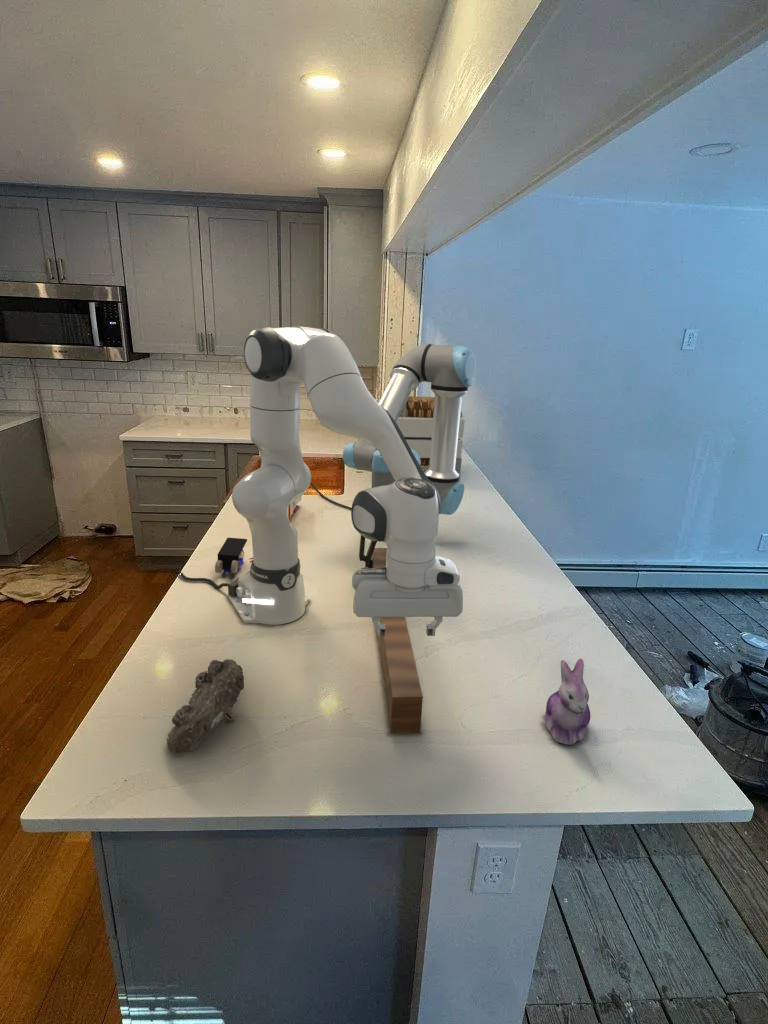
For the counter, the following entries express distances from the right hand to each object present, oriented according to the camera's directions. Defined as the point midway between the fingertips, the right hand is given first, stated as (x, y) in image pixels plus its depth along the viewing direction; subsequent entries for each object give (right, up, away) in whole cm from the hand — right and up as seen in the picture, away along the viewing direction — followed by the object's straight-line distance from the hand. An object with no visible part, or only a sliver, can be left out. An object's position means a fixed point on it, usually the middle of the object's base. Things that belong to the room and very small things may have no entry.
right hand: (380, 582), depth 163 cm
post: (+2, -10, -25) cm, 27 cm away
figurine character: (-44, +3, +5) cm, 44 cm away
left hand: (+5, -3, -56) cm, 56 cm away
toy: (-37, +18, +48) cm, 64 cm away
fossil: (-32, -19, -55) cm, 66 cm away
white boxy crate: (+18, +39, +112) cm, 120 cm away
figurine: (+36, -22, -54) cm, 69 cm away
